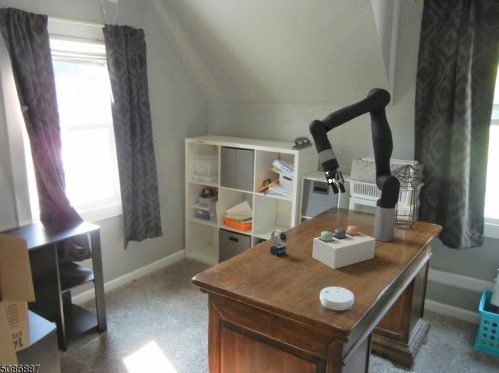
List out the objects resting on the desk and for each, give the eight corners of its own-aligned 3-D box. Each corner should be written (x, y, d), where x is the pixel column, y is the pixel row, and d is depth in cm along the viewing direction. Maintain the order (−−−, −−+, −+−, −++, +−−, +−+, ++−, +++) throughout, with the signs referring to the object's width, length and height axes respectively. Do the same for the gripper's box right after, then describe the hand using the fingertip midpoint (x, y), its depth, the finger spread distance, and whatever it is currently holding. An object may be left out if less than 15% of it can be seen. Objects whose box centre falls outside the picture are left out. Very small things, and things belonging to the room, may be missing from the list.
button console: (351, 247, 198) (352, 229, 195) (373, 257, 186) (375, 239, 184) (312, 257, 185) (313, 238, 183) (333, 268, 174) (335, 248, 172)
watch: (280, 257, 184) (281, 234, 181) (267, 252, 190) (268, 229, 187) (288, 254, 188) (289, 231, 185) (275, 249, 193) (276, 226, 191)
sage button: (326, 238, 185) (327, 230, 184) (334, 242, 181) (335, 233, 180) (318, 240, 183) (318, 232, 182) (325, 244, 179) (326, 235, 178)
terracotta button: (352, 233, 194) (353, 225, 193) (360, 236, 190) (361, 228, 189) (344, 234, 191) (345, 226, 190) (352, 238, 187) (353, 229, 186)
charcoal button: (339, 235, 190) (340, 227, 189) (347, 239, 185) (348, 231, 184) (331, 237, 187) (332, 229, 186) (339, 241, 183) (340, 232, 182)
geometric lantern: (389, 229, 224) (394, 165, 217) (386, 221, 239) (391, 161, 232) (420, 231, 221) (426, 167, 214) (415, 223, 236) (421, 162, 229)
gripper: (329, 157, 186) (341, 191, 183) (341, 157, 197) (353, 189, 195) (315, 163, 190) (327, 196, 187) (327, 163, 201) (339, 195, 199)
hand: (340, 193), depth 191 cm, fingers open, 8 cm apart
